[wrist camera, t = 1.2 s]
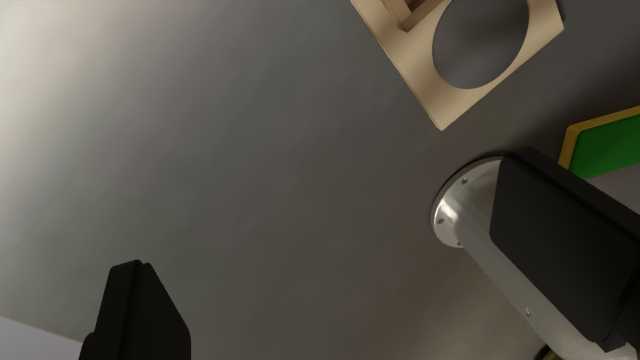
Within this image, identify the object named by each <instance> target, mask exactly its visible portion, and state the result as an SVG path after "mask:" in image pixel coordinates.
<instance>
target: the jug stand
mask: <svg viewBox="0 0 640 360" xmlns="http://www.w3.org/2000/svg"><path fill="white" fill-rule="evenodd" d="M350 1H351V3H352V4H353V6H354V7H355V9H356V10H357V12H358V13H359V14H360V16H361V17H362V19H363V20H364V22H365V23H366V25H367V26H368V28H369V29H370V31H371V32H372V33H373V35H374V36H375V38H376V39H377V41H378V42H379V44H380V45H381V47H382V48H383V50H384V51H385V52H386V54H387V55H388V57H389V58H390V60H391V61H392V63H393V64H394V66H395V67H396V69H397V70H398V71H399V73H400V74H401V76H402V77H403V79H404V80H405V82H406V83H407V85H408V86H409V88H410V89H411V90H412V92H413V93H414V95H415V96H416V98H417V99H418V101H419V102H420V104H421V105H422V106H423V108H424V109H425V111H426V112H427V114H428V115H429V117H430V118H431V120H432V121H433V123H434V124H435V125H436V127H437V128H439V129H440V130H441V131H442V130H444V129H445V128H446V127H447V126H448V125H450V124H451V123H452V122H453V121H454V120H456V119H457V118H458V117H459V116H460V115H462V114H463V113H464V112H465V111H466V110H468V109H469V108H470V107H471V106H472V105H474V104H475V103H476V102H477V101H478V100H480V99H481V98H482V97H483V96H484V95H486V94H487V93H488V92H489V91H491V90H492V89H493V88H494V87H495V86H497V85H498V84H499V83H500V82H501V81H503V80H504V79H505V78H506V77H507V76H509V75H510V74H511V73H512V72H513V71H515V70H516V69H517V68H518V67H519V66H521V65H522V64H523V63H524V62H525V61H527V60H528V59H529V58H530V57H531V56H533V55H534V54H535V53H536V52H537V51H539V50H540V49H541V48H542V47H543V46H545V45H546V44H547V43H548V42H549V41H551V40H552V39H553V38H554V37H555V36H557V35H558V34H559V33H560V32H561V31H563V30H564V27H563V24H562V21H561V17H560V14H559V11H558V8H557V5H556V1H555V0H350Z"/></svg>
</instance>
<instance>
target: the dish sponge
mask: <svg viewBox="0 0 640 360" xmlns="http://www.w3.org/2000/svg"><path fill="white" fill-rule="evenodd" d="M637 163H640V106H637V107H633V108H629V109H626V110H622V111H619V112H615V113H612V114H608V115H605V116H601V117H598V118H594V119H591V120H587V121H584V122H580V123H577V124H573V125H570V126H569V127H568V128H567V131H566V135H565V139H564V142H563V146H562V150H561V154H560V157H559V161H558V164H559V165H561V166H563V167H564V168H566V169H567V170H569V171H571V172H572V173H574V174H575V175H577V176H578V177H580V178H582V179H583V180H585V179H588V178H591V177H595V176H598V175H601V174H604V173H607V172H611V171H614V170H617V169H620V168H624V167H627V166H630V165H633V164H637Z"/></svg>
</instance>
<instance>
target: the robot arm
mask: <svg viewBox="0 0 640 360" xmlns="http://www.w3.org/2000/svg"><path fill="white" fill-rule="evenodd" d="M430 217H431V226H432V229H433V231H434V233H435V234H436V236H437V237H438V238H439V239H440V240H441V241H442V242H443V243H445V244H446V245H448V246H452V247H458V248H464V249H465V250H466V251H467V252H468V253H469V254H470V256H471V257H472V258H473V259H474V260H475V261H476V262H477V264H478V265H479V266H480V267H481V268H482V269H483V271H484V272H485V273H486V274H487V275H488V276H489V278H490V279H491V280H492V281H493V282H494V283H495V285H496V286H497V287H498V288H499V289H500V290H501V292H502V293H503V294H504V295H505V296H506V297H507V299H508V300H509V301H510V302H511V303H512V304H513V305H514V307H515V308H516V309H517V310H518V311H519V312H520V314H521V315H522V316H523V317H524V318H525V319H526V321H527V322H528V323H529V324H530V325H531V326H532V328H533V329H534V330H535V331H536V332H537V333H538V335H539V336H540V337H541V338H542V339H543V340H544V341H545V342H546V344H547V345H548V346H549V347H550V348H551V349H552V350H553V351H554V352H555V353H556V354H557V355H558V356H560V357H561V358H562V359H564V360H640V215H639V214H637V213H636V212H634V211H632V210H631V209H629V208H628V207H626V206H624V205H623V204H621V203H620V202H618V201H617V200H615V199H613V198H612V197H610V196H609V195H607V194H605V193H604V192H602V191H601V190H599V189H598V188H596V187H594V186H593V185H591V184H590V183H588V182H586V181H585V180H583V179H582V178H580V177H578V176H577V175H575V174H574V173H572V172H571V171H569V170H567V169H566V168H564V167H563V166H561V165H559V164H558V163H556V162H555V161H553V160H551V159H550V158H548V157H547V156H545V155H544V154H542V153H540V152H539V151H537V150H536V149H534V148H532V147H523V148H520V149H516V150H513V151H509V152H507V153H506V154H505V155H504V157H503V156H496V157H489V158H484V159H481V160H479V161H476V162H474V163H472V164H470V165H468V166H467V167H465V168H463V169H462V170H461V171H459V172H458V173H457V174H455V175H454V176H453V177H452V178H451V179H450V180H449V181H448V182H447V183H446V184H445V186H444V187H443V188H442V189H441V191H440V192H439V194H438V196H437V198H436V199H435V202H434V204H433V207H432V211H431V216H430ZM78 360H191V337H190V333H189V330H188V328H187V326H186V324H185V322H184V321H183V319H182V317H181V315H180V314H179V312H178V310H177V308H176V307H175V305H174V303H173V302H172V300H171V298H170V296H169V295H168V293H167V291H166V289H165V288H164V286H163V284H162V283H161V281H160V279H159V277H158V276H157V274H156V272H155V271H154V269H153V267H152V266H151V264H150V263H145V264H143V263H142V262H141V261H140V260H133V261H130V262H126V263H123V264H119V265H116V266H113V267H112V268H111V269H110V271H109V275H108V279H107V283H106V287H105V291H104V295H103V299H102V303H101V307H100V311H99V315H98V319H97V323H96V326H95V330H94V332H92V333H89V334H88V335H87V337H86V338H85V340H84V342H83V345H82V348H81V352H80V356H79V359H78Z"/></svg>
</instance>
